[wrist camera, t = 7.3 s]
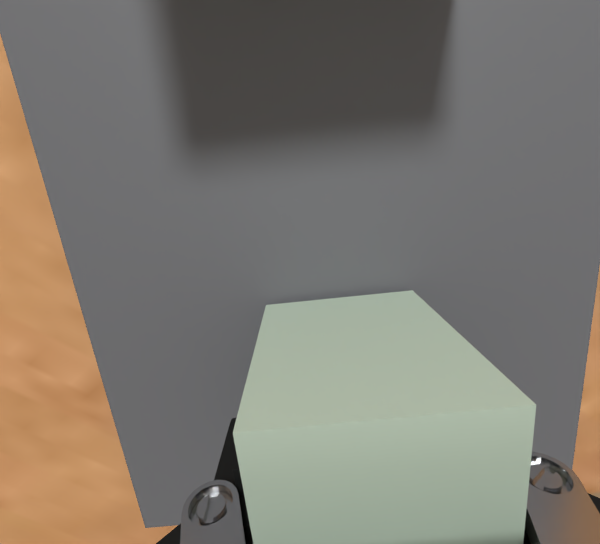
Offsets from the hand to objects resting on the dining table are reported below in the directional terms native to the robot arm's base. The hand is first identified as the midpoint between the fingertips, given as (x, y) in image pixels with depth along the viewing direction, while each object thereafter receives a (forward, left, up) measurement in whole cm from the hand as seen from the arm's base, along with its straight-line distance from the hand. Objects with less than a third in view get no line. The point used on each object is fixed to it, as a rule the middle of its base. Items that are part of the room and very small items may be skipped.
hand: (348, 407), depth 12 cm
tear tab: (0, 0, -1) cm, 1 cm away
